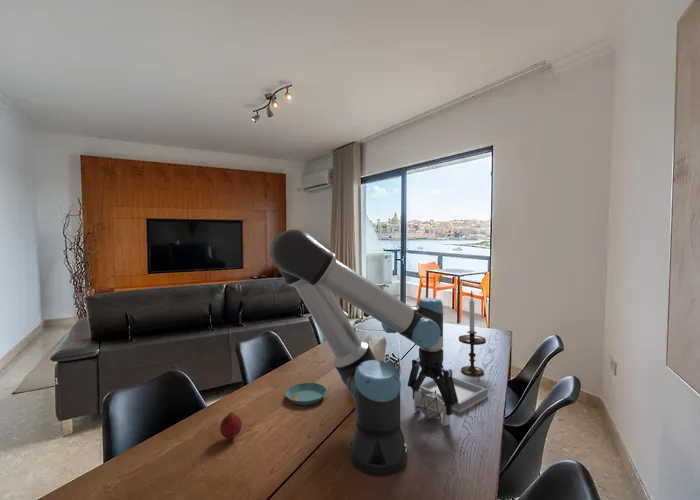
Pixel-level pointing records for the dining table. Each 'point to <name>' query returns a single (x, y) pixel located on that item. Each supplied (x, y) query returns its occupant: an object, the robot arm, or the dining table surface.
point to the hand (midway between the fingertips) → (431, 416)
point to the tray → (458, 393)
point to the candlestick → (472, 344)
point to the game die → (431, 405)
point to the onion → (230, 425)
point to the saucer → (306, 393)
